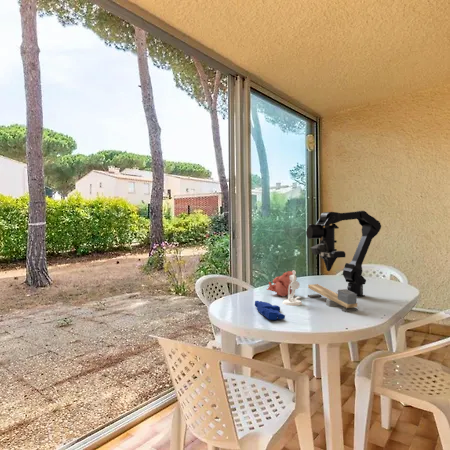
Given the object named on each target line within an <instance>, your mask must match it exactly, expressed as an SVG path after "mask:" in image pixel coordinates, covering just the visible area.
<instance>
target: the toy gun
mask: <svg viewBox="0 0 450 450" xmlns="http://www.w3.org/2000/svg"><path fill="white" fill-rule="evenodd" d="M254 306H255V308H256V310H257V312H258V313H259V314H261V315H262V316H263V317H265V318H266V319H268V320H269V321H271V320H272V321H277V319H278V320H284V319H285V317H286V314H283V313H282V312H280V311H281V307H280V306H279V305H276V304H274V305H272V304H271V303H270V302H266V301H262V300H255V301H254Z"/></svg>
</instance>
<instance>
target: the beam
mask: <svg viewBox="0 0 450 450" xmlns="http://www.w3.org/2000/svg"><path fill="white" fill-rule="evenodd" d="M307 286H308V289H309V290H312V291H314V292H315V293H316V294H320V295H321V296H323V297H325V298H326V299H331V300H332V301H334V302H336V303H338V304H340V305H339V306H343V307H344V308H352V307H355V308H358V302H356V304H346V303H344V302H342V301H340V300H338V292H337V293H336V292H335V291H332V290H330V289H329V288H327V287H324V286H322V285H320V284H318V283H317V284H316V283H315V284H314V283H313V284H308V285H307Z"/></svg>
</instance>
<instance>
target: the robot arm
mask: <svg viewBox="0 0 450 450" xmlns="http://www.w3.org/2000/svg"><path fill="white" fill-rule="evenodd" d="M351 220H357V221H358V224H359V225H360V226H361V237H360V239H359V242H358V245H357V246H356V247H357V248H356V249H355V252H354V253H353V254H354V255H353V257H352V259H351V261H350V262H349V263H348V262H345V265H344V268H343V269H342V271H343V272H342V275H343V277H344V279H345V282H346V283H347V288H346V289H347V290H349V291H351V292H354V293H356V294H357V298H361V297H366V294H364V285H365V284H366V282H367V280H366V278H365V277H364V276H363V275H362V274H363V266H362V265H363V262H364V260H365V258H366V255H367V253H368V250H369V248H370V245H371V243H372V240H373V239H374V238H375V237H376V236H378V234H379V233H380V231H381V229H382V225H381V222H380V221H379V220H377V219H376V218H375V217H374V216H372V215H370V214H369V213H368V212H367V211H365V210H357V211H349V212H337V211H324V212H321V214H320V216H319V218H318V220H317V222H316V223H314V224H311V223H309V224H308V226H307V229H306V232H305V233H306V234H305V235H306V237H307V239H311V240H312V239H315V240H316V239H317V240H318V239H321V240H320V241H319V243H318V244H315V245H313V246H310V250H311V252H312V254H313V255H319V258H321V259H322V260H323V263H324V265H325V269H326V271H327V272H330V271H331V269H332V268H333V266H334V263H335V262H336V260H337V259H339V258H346V252H345V251H343V250H337V248H336V247H335V246H336V245H335V244H337V242H338V241H337V240H336V238H335V235H336V234H335V233H336V232H335V229H339V226H338V225H337V224H336V223H340V222H342V221H351Z"/></svg>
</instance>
